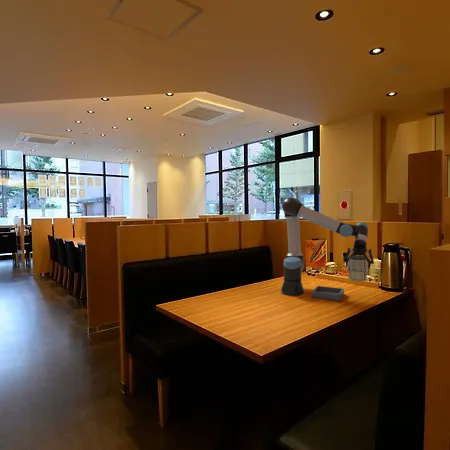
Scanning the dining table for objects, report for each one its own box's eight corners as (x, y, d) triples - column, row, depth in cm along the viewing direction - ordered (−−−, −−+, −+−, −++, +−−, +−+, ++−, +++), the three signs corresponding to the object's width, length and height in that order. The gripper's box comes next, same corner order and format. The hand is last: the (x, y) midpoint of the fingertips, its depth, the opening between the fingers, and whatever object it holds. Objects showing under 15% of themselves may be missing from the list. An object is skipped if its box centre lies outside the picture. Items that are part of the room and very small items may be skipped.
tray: (311, 297, 202) (311, 291, 202) (317, 291, 217) (317, 285, 217) (339, 301, 194) (339, 294, 194) (343, 294, 209) (343, 288, 209)
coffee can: (346, 277, 200) (346, 255, 200) (363, 277, 199) (363, 255, 198) (351, 281, 190) (351, 258, 189) (369, 281, 189) (369, 258, 188)
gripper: (380, 247, 202) (378, 276, 189) (342, 245, 213) (338, 273, 200) (379, 240, 197) (377, 269, 184) (341, 238, 208) (336, 266, 195)
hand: (357, 271), depth 192 cm, fingers closed on coffee can, 10 cm apart
